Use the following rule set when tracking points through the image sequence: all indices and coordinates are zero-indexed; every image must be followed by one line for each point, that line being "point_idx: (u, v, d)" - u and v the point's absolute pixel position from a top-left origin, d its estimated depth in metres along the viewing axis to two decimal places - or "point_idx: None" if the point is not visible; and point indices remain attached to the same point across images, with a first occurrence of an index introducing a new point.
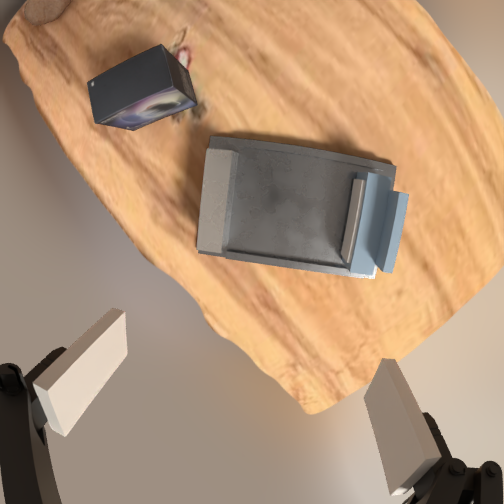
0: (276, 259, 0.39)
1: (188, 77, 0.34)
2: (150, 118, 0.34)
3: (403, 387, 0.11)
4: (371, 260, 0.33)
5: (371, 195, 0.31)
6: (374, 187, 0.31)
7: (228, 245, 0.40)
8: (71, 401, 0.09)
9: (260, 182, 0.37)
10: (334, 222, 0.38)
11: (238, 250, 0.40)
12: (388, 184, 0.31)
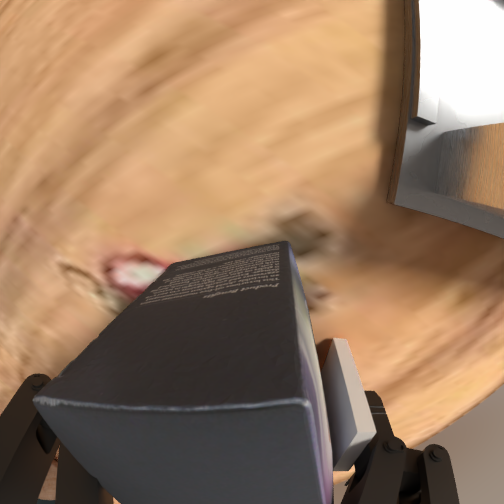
0: None
1: (195, 263, 0.13)
2: None
3: (348, 364, 0.12)
4: None
5: None
6: None
7: None
8: None
9: (495, 99, 0.09)
10: None
11: None
12: None
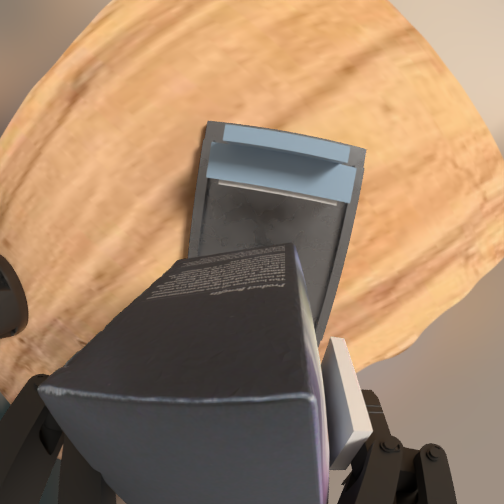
0: (329, 285, 0.30)
1: (201, 261, 0.13)
2: None
3: (345, 363, 0.12)
4: (334, 169, 0.22)
5: (238, 172, 0.23)
6: (226, 167, 0.23)
7: None
8: None
9: None
10: (286, 207, 0.29)
11: (314, 324, 0.32)
12: (221, 146, 0.23)
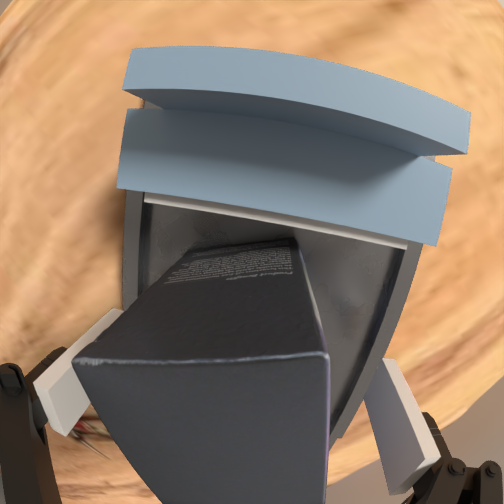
0: (363, 370, 0.16)
1: (211, 252, 0.14)
2: None
3: (403, 387, 0.11)
4: (409, 169, 0.09)
5: (182, 173, 0.10)
6: (157, 164, 0.10)
7: None
8: (72, 401, 0.09)
9: None
10: None
11: (332, 417, 0.18)
12: (147, 116, 0.09)
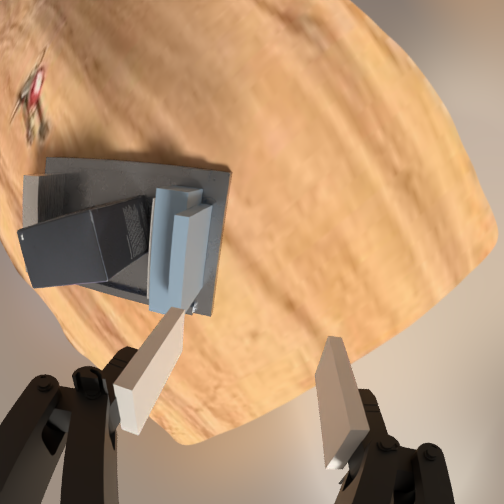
0: (99, 284, 0.33)
1: (142, 212, 0.29)
2: None
3: (343, 362, 0.12)
4: None
5: (161, 218, 0.25)
6: (165, 207, 0.25)
7: None
8: (146, 399, 0.10)
9: (82, 203, 0.31)
10: None
11: None
12: (184, 202, 0.25)
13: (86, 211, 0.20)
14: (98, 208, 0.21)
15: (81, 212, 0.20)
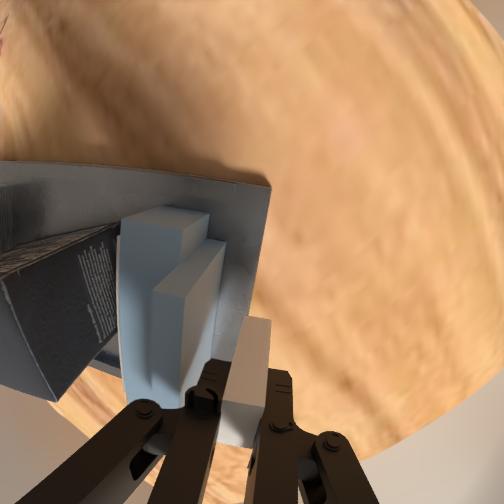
0: None
1: None
2: None
3: (262, 342, 0.13)
4: None
5: (133, 276, 0.13)
6: (138, 257, 0.13)
7: None
8: None
9: (34, 230, 0.18)
10: None
11: None
12: (174, 249, 0.12)
13: None
14: (21, 268, 0.09)
15: None
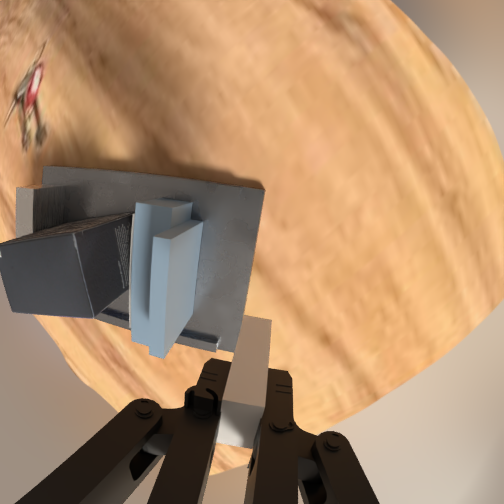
0: (106, 315, 0.28)
1: None
2: None
3: (262, 342, 0.13)
4: None
5: (142, 237, 0.21)
6: (145, 225, 0.21)
7: None
8: None
9: None
10: None
11: None
12: (167, 219, 0.21)
13: (69, 234, 0.16)
14: (84, 230, 0.17)
15: (63, 235, 0.16)
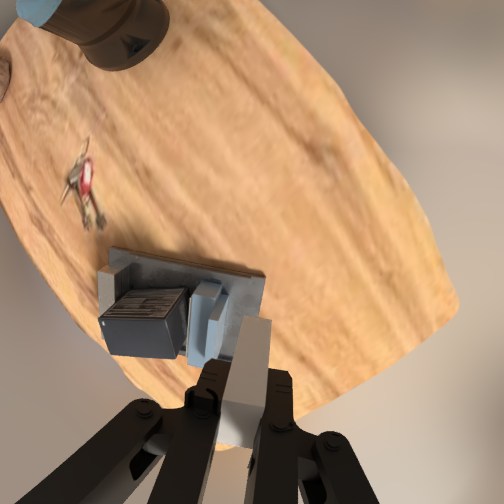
0: None
1: (188, 300, 0.43)
2: None
3: (262, 342, 0.13)
4: (203, 358, 0.40)
5: (197, 312, 0.38)
6: (199, 306, 0.38)
7: None
8: None
9: None
10: None
11: None
12: (212, 304, 0.38)
13: (162, 320, 0.33)
14: (168, 315, 0.35)
15: (158, 320, 0.33)
